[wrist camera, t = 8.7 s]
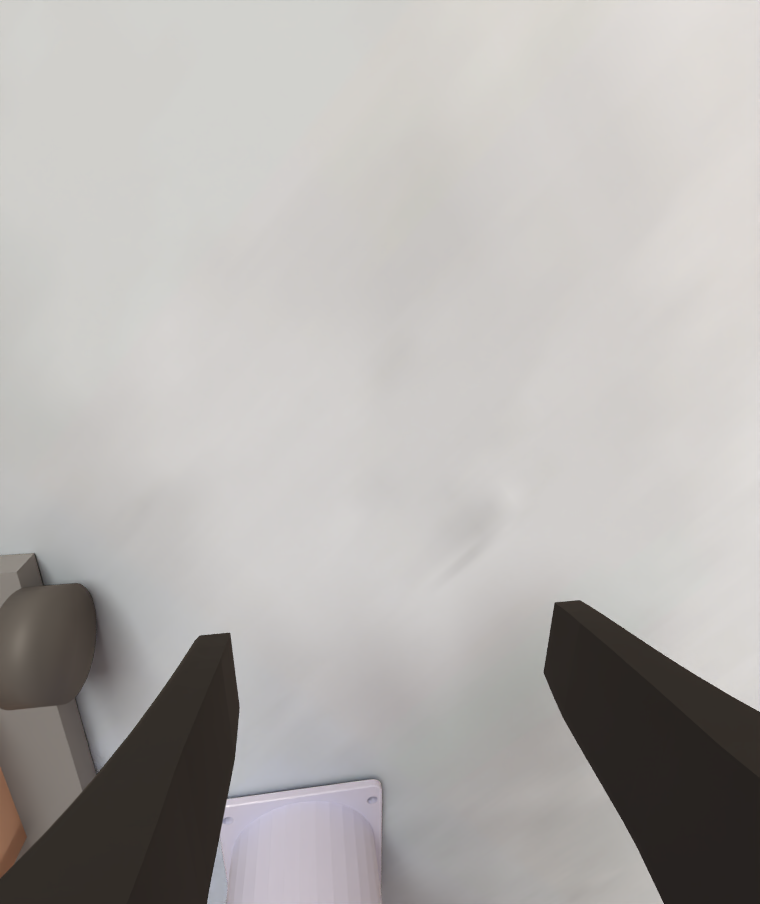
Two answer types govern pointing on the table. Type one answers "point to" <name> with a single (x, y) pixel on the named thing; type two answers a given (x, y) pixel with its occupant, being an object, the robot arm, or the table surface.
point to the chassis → (40, 702)
